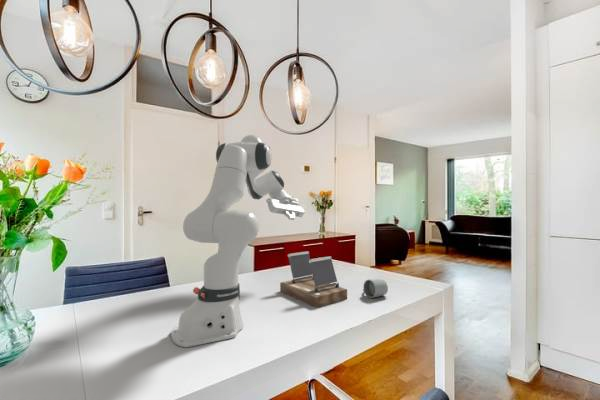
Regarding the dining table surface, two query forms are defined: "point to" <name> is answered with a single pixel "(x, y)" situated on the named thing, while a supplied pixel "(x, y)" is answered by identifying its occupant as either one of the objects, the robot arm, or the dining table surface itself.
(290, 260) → the grey board
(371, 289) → the ceramic mug
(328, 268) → the lever slate
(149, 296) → the dining table surface
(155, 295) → the dining table surface
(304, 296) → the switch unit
